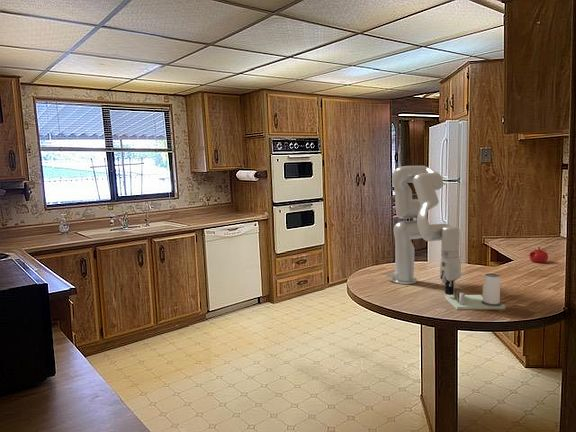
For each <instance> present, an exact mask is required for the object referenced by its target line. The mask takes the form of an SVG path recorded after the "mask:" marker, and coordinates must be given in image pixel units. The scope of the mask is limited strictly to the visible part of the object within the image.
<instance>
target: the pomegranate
mask: <svg viewBox="0 0 576 432" xmlns="http://www.w3.org/2000/svg"><path fill="white" fill-rule="evenodd" d="M548 254H549V253H548V252H547V251H545V249H544V248H542V249H541V247H540V246H538V249H537V248H535V249H532V250H531V252H530V253H529V255H528V256H529V260H530V262H532V263H536V264H544V263H546V262H548V258H549V255H548Z"/></svg>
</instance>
